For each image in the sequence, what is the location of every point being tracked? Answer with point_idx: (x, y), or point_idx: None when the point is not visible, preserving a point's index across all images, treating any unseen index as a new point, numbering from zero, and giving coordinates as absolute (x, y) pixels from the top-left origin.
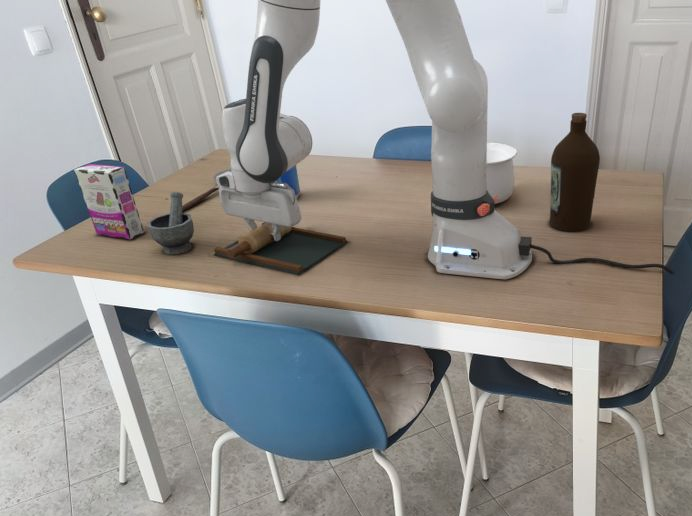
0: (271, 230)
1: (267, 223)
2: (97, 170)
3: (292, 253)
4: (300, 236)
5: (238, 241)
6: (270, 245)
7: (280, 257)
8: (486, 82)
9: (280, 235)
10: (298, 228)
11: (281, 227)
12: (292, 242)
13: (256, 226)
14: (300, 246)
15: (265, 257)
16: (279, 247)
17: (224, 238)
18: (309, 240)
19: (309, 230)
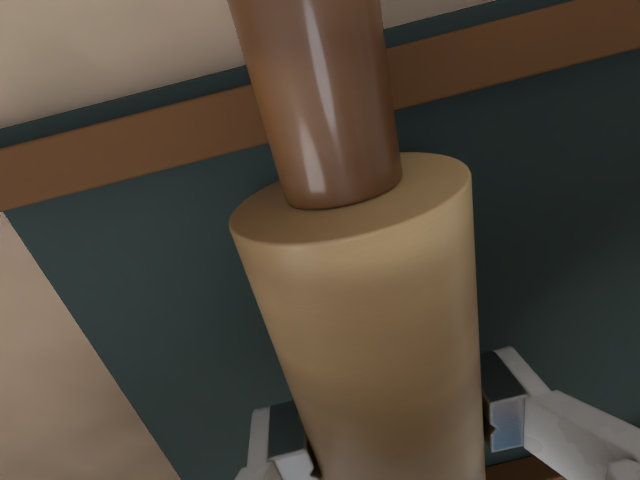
0: (482, 440)
1: (417, 477)
2: None
3: (622, 332)
4: (497, 115)
5: (172, 440)
6: None
7: (585, 396)
8: None
9: (526, 363)
10: (435, 49)
11: (629, 431)
12: (516, 238)
13: (270, 475)
14: (616, 242)
15: (558, 477)
16: (484, 335)
17: (17, 445)
18: (629, 124)
19: (594, 5)
